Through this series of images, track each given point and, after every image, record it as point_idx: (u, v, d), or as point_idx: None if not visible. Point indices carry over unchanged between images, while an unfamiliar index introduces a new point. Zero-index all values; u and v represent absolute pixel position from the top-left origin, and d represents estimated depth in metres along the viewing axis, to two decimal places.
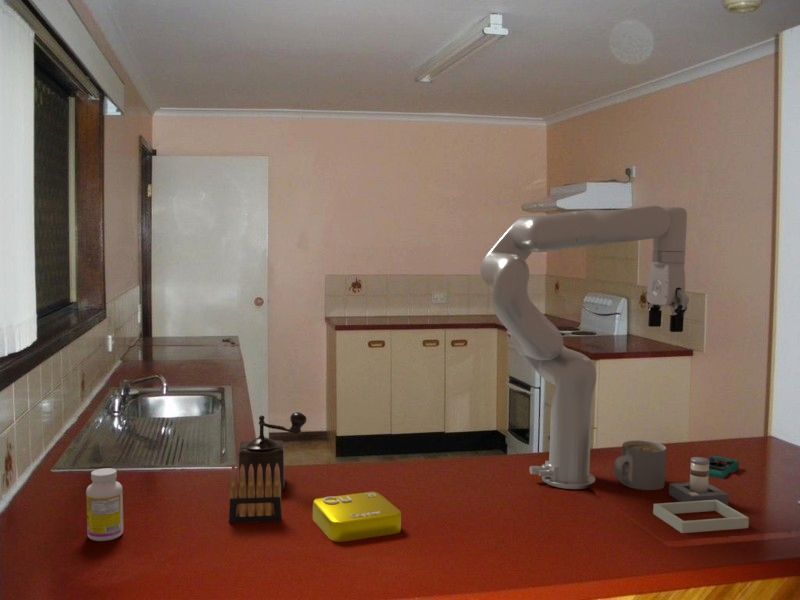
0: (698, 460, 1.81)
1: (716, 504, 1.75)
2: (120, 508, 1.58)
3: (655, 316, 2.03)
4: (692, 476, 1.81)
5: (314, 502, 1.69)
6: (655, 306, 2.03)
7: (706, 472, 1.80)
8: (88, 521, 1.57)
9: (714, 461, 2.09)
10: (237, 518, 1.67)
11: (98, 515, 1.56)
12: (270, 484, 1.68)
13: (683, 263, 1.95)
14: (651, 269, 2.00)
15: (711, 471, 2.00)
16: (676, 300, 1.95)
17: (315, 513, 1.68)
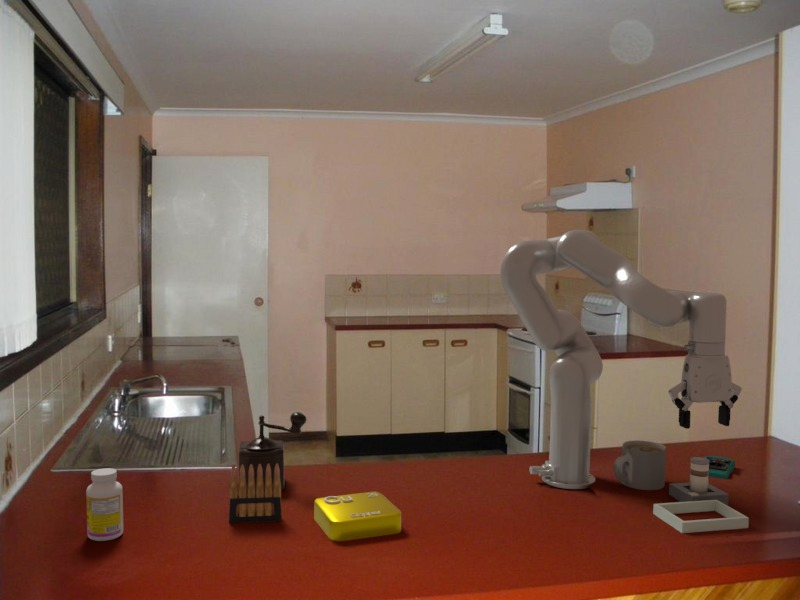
0: (698, 460, 1.81)
1: (716, 504, 1.75)
2: (120, 508, 1.58)
3: None
4: (692, 476, 1.81)
5: (315, 502, 1.69)
6: None
7: (706, 472, 1.80)
8: (88, 521, 1.57)
9: (712, 461, 2.09)
10: (237, 518, 1.67)
11: (98, 514, 1.56)
12: (270, 484, 1.68)
13: None
14: (699, 364, 1.76)
15: (715, 472, 1.99)
16: None
17: (316, 513, 1.68)
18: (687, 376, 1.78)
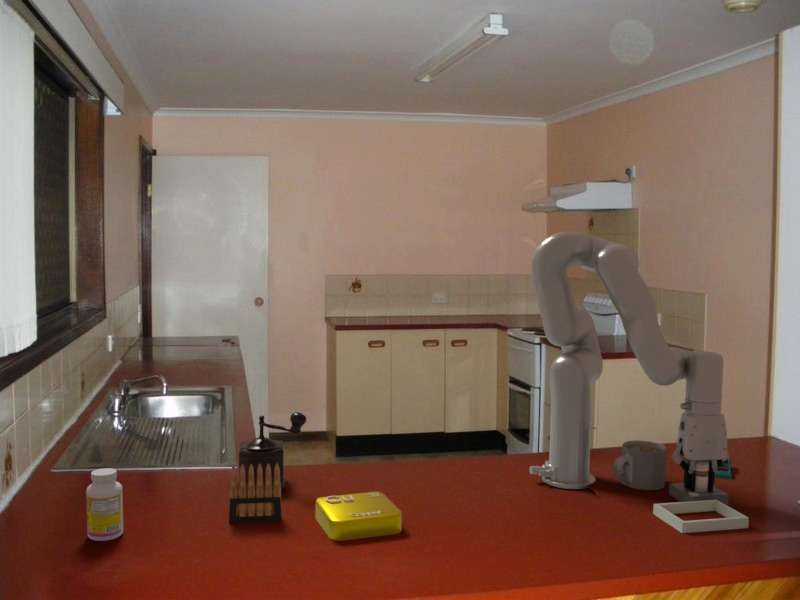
0: None
1: (716, 504, 1.75)
2: (120, 508, 1.58)
3: None
4: None
5: (317, 501, 1.70)
6: None
7: (706, 472, 1.80)
8: (88, 521, 1.57)
9: None
10: (237, 518, 1.67)
11: (98, 515, 1.56)
12: (270, 484, 1.68)
13: None
14: (695, 423, 1.78)
15: (719, 472, 1.99)
16: None
17: (317, 512, 1.69)
18: (683, 435, 1.79)
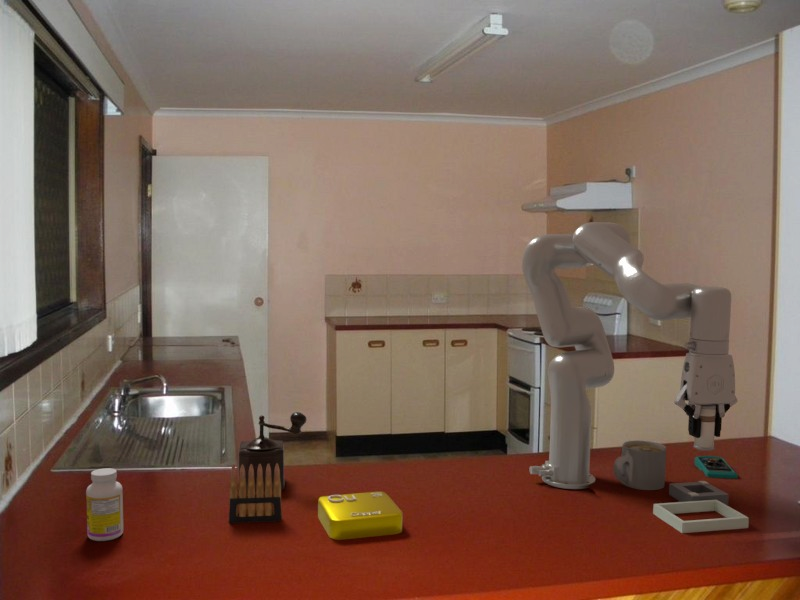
0: None
1: (716, 504, 1.75)
2: (120, 508, 1.58)
3: None
4: None
5: (319, 500, 1.71)
6: None
7: (712, 417, 1.66)
8: (88, 521, 1.57)
9: (707, 461, 2.08)
10: (237, 518, 1.67)
11: (98, 515, 1.56)
12: (270, 484, 1.68)
13: None
14: (701, 363, 1.63)
15: (725, 473, 1.99)
16: None
17: (319, 511, 1.69)
18: (687, 376, 1.65)
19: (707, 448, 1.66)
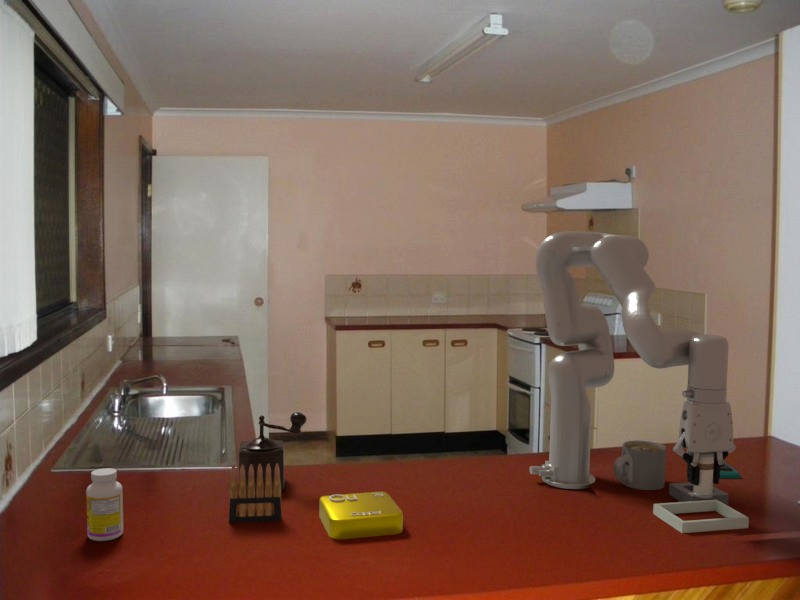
0: None
1: (716, 504, 1.75)
2: (120, 508, 1.58)
3: None
4: None
5: (320, 499, 1.71)
6: None
7: (710, 465, 1.67)
8: (88, 521, 1.57)
9: None
10: (237, 518, 1.67)
11: (98, 514, 1.56)
12: (270, 484, 1.68)
13: None
14: (699, 412, 1.64)
15: (729, 473, 1.99)
16: None
17: (320, 510, 1.70)
18: (685, 425, 1.66)
19: (706, 496, 1.67)
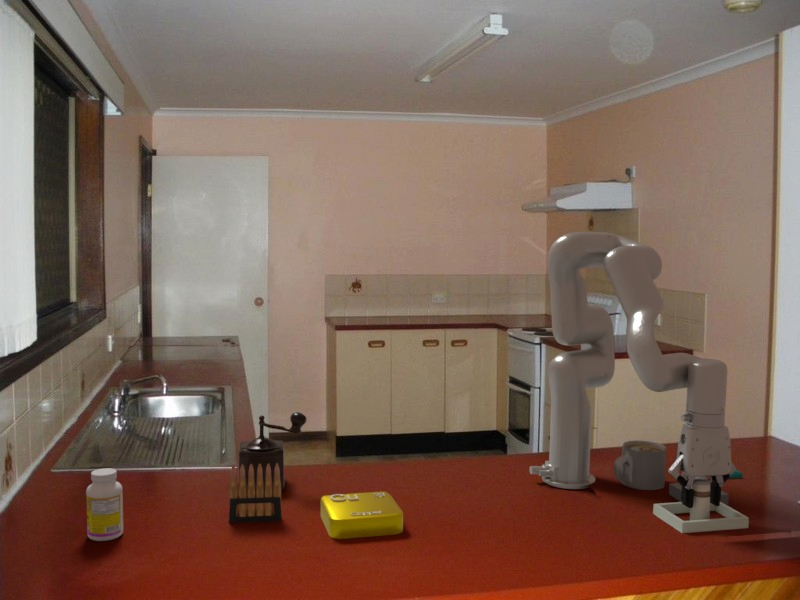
0: (699, 480, 1.68)
1: None
2: (120, 508, 1.58)
3: None
4: None
5: (321, 499, 1.71)
6: None
7: (707, 493, 1.67)
8: (88, 521, 1.57)
9: None
10: (237, 518, 1.67)
11: (98, 515, 1.56)
12: (270, 484, 1.68)
13: None
14: (697, 436, 1.65)
15: None
16: None
17: (321, 510, 1.70)
18: (683, 449, 1.66)
19: None
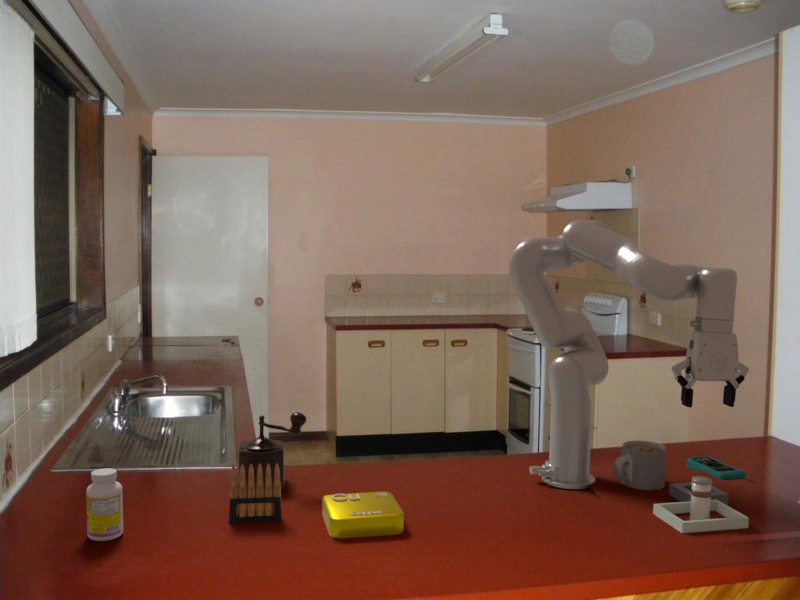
0: (699, 480, 1.68)
1: (716, 504, 1.75)
2: (120, 508, 1.58)
3: None
4: (693, 497, 1.69)
5: (323, 498, 1.72)
6: None
7: (708, 493, 1.67)
8: (88, 521, 1.57)
9: (704, 462, 2.08)
10: (237, 518, 1.67)
11: (98, 514, 1.56)
12: (270, 484, 1.68)
13: None
14: (705, 341, 1.70)
15: (736, 473, 1.99)
16: None
17: (323, 509, 1.70)
18: (692, 353, 1.71)
19: None
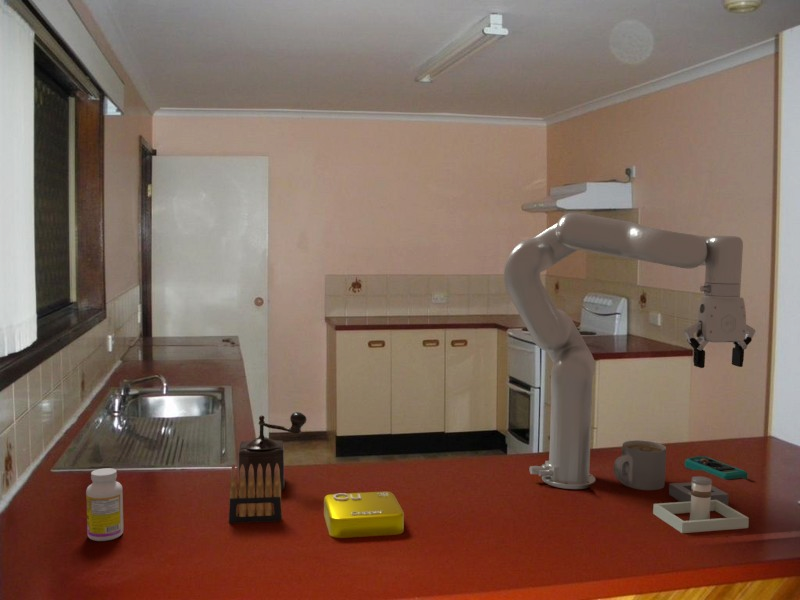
0: (699, 480, 1.68)
1: (716, 504, 1.75)
2: (120, 508, 1.58)
3: None
4: (693, 497, 1.69)
5: (325, 497, 1.72)
6: None
7: (708, 493, 1.67)
8: (88, 521, 1.57)
9: (703, 462, 2.07)
10: (237, 518, 1.67)
11: (98, 515, 1.56)
12: (270, 484, 1.68)
13: None
14: (715, 304, 1.80)
15: (739, 472, 1.99)
16: None
17: (324, 508, 1.71)
18: (703, 317, 1.82)
19: None
